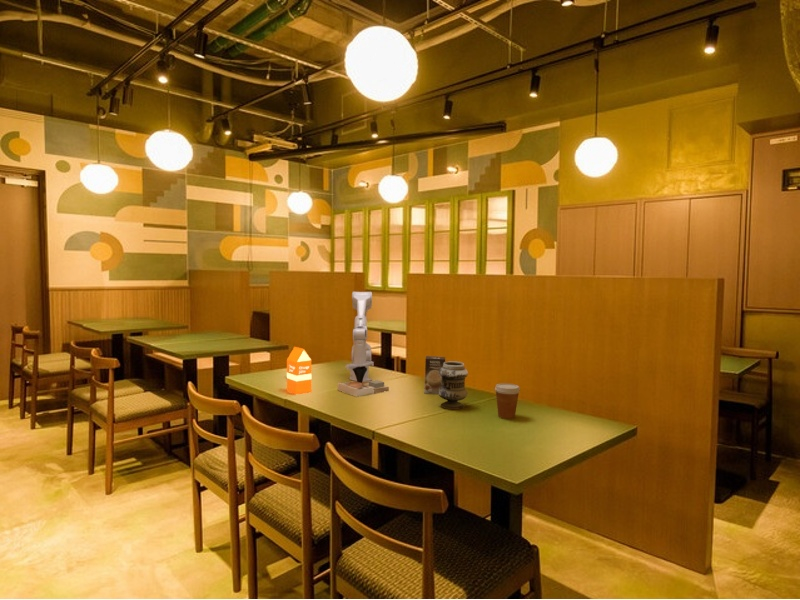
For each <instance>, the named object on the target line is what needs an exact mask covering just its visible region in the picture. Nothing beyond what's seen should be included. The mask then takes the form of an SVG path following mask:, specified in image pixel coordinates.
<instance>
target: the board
mask: <svg viewBox="0 0 800 600" xmlns="http://www.w3.org/2000/svg"><path fill="white" fill-rule="evenodd" d="M370 381H371V380H369V381H363V382H362V386H363V387H366V388H370V387H371V386H369V382H370ZM373 390H374V394H380V393H379V392H381V393H385V392H384V391H386V392H389V391H390V386H388V385H385V384H384V387H379V388H374V387H373Z"/></svg>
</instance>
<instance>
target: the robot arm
mask: <svg viewBox="0 0 800 600" xmlns="http://www.w3.org/2000/svg"><path fill="white" fill-rule="evenodd" d="M351 302H352V308H353V310H356V311H357V315H356V316H355V317H354V324H353V325H354V327H353V330H352V340H353V341H352V342H353V343H352V344H353V345H352V346H351V361H352V362H351V363H348V364H345V370H349V373H350V374H349V375H350V376H349V378H348V380H352V381H357V382H360V383H362V382H364V381H373V378H369V377H370V376H369V374H370V373H369V372H370V371H369V370H370V368H369V367H374V363H375V362H374V361H372V346H371V345H370V344H369V343H368V342H367V340H368V325H367V324H368V322H367V321H368V317H367V313H368V311H369V310H371V309H372V306H373V293H372V291H352V293H351Z"/></svg>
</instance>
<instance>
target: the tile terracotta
mask: <svg viewBox="0 0 800 600" xmlns="http://www.w3.org/2000/svg"><path fill="white" fill-rule="evenodd" d="M353 381H354V380H353ZM350 382H351V383H349V384H347V386H350V387H353V388H356V389H359V388H361V387H362V383H360V382H357V381H354V382H352V381H350Z"/></svg>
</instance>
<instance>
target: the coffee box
mask: <svg viewBox="0 0 800 600" xmlns="http://www.w3.org/2000/svg"><path fill="white" fill-rule="evenodd" d="M444 362H446V357H445V356H432V355H431V356H429V355H426V356H425V362H424V363H425V366H424V367H425V368H424V388H423V389H424V391H423V392H424V394H428V395H429V394H430V395H439V394H438V390H439V389H440V387H441V385H442V377H441V376H440V374H439V370H440V369H441V368H442V367H443V363H444Z"/></svg>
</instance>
